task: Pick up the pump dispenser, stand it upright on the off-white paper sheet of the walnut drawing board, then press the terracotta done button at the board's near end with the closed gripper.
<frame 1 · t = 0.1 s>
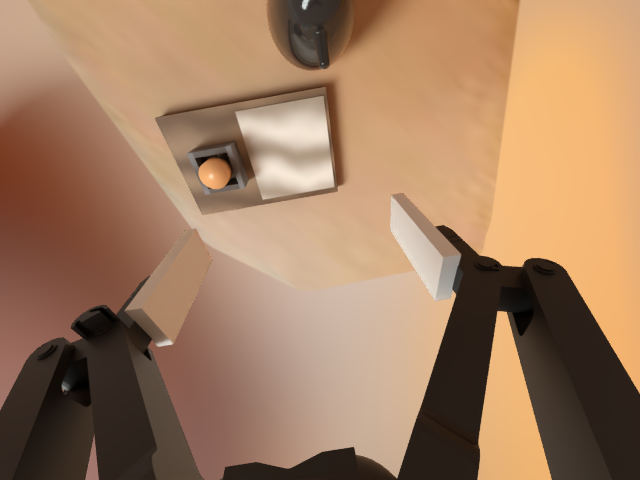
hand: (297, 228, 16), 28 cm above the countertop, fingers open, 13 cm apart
pump dispenser: (309, 25, 31), on the countertop
drawing board: (258, 155, 40), on the countertop
done button: (216, 172, 35), point 6 cm above the countertop, slide at 0.0 cm
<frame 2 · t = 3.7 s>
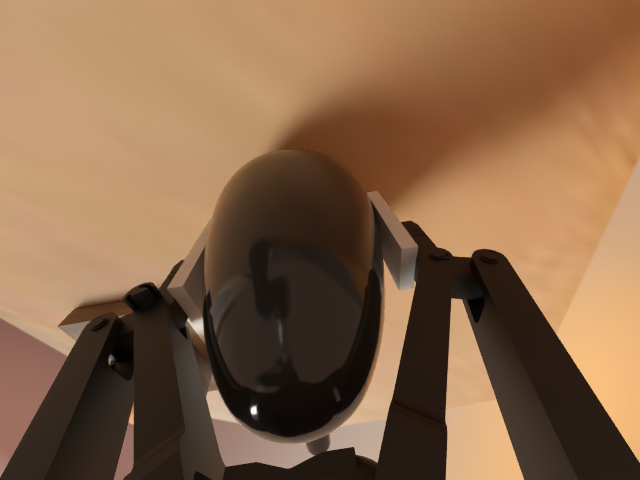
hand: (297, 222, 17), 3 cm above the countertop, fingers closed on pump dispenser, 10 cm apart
pump dispenser: (297, 203, 19), on the countertop, touching gripper
drawing board: (226, 335, 28), on the countertop
done button: (156, 400, 23), point 6 cm above the countertop, slide at 0.0 cm
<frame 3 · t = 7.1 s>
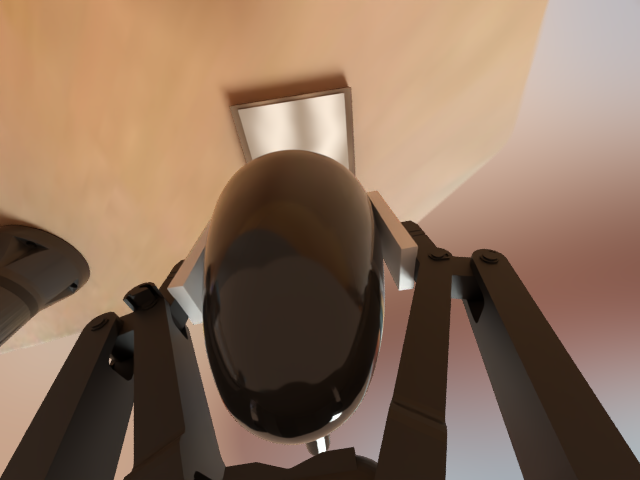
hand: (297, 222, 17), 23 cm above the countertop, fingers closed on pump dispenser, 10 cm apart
pump dispenser: (297, 204, 19), point 20 cm above the countertop, touching gripper
drawing board: (305, 183, 39), on the countertop
when the fingers open (6 cm above the countertop, at t = 11.0 s): pump dispenser stays where it is, resting on drawing board.
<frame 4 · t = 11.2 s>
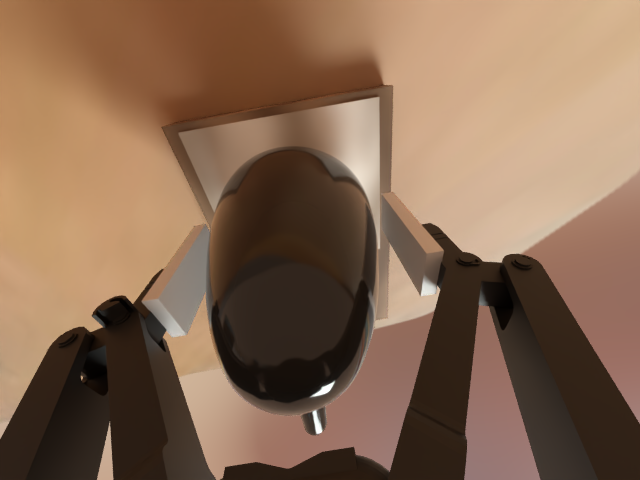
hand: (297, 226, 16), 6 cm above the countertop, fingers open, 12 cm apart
pump dispenser: (297, 200, 20), point 2 cm above the countertop, touching drawing board
drawing board: (307, 239, 25), on the countertop
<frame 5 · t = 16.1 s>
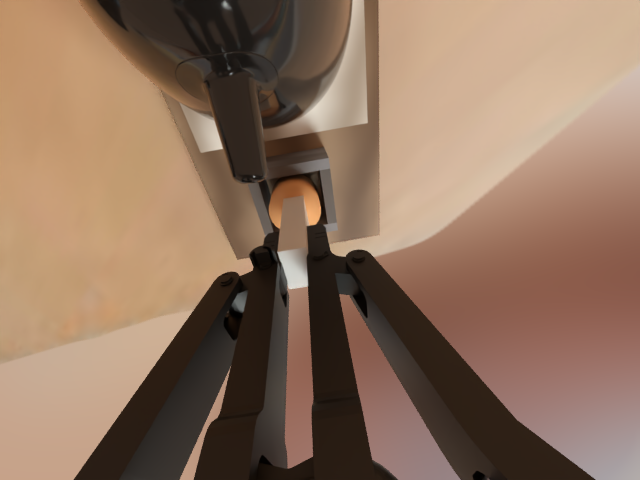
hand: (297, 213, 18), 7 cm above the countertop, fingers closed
pump dispenser: (261, 36, 16), point 2 cm above the countertop, touching drawing board
drawing board: (282, 120, 21), on the countertop
done button: (295, 203, 19), point 5 cm above the countertop, slide at 0.7 cm, touching gripper
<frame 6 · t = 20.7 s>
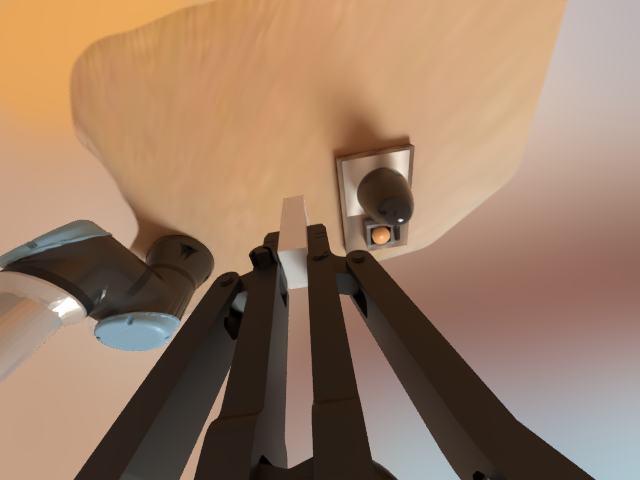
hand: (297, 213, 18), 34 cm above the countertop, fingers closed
pump dispenser: (375, 185, 52), point 2 cm above the countertop, touching drawing board
drawing board: (373, 203, 57), on the countertop
done button: (379, 233, 56), point 5 cm above the countertop, slide at 1.3 cm
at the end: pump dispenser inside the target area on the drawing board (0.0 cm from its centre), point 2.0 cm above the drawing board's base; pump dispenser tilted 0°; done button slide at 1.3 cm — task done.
